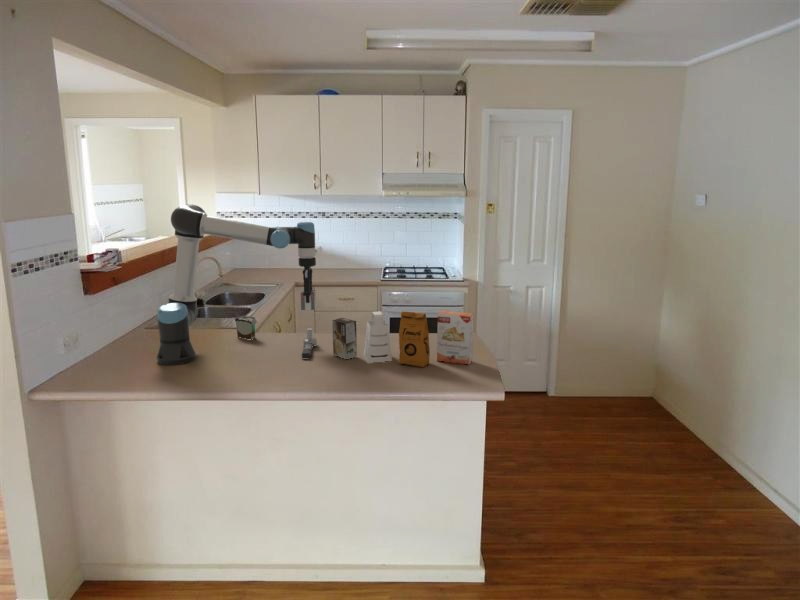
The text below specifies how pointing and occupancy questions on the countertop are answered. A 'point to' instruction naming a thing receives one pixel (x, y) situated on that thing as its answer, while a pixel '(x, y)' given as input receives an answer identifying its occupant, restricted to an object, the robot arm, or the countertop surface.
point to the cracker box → (455, 337)
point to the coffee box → (344, 338)
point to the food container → (245, 327)
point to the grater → (377, 339)
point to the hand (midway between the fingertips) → (308, 307)
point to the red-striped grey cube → (313, 300)
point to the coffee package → (414, 339)
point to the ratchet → (308, 344)
